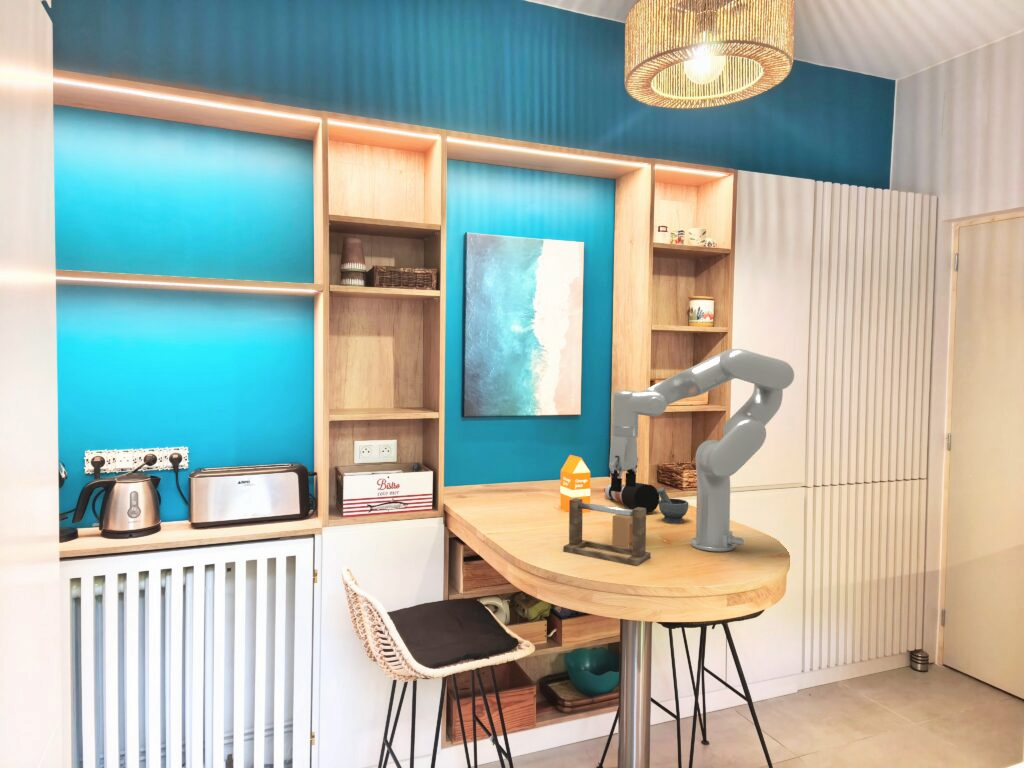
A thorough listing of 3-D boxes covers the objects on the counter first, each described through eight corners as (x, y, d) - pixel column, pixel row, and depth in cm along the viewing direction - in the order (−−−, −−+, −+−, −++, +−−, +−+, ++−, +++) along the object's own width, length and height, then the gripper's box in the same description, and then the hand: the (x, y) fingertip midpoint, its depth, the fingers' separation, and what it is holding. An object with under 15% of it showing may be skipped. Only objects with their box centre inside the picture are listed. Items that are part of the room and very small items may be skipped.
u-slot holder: (636, 543, 197) (636, 514, 197) (627, 548, 192) (628, 518, 192) (621, 541, 200) (621, 511, 200) (612, 545, 195) (612, 515, 195)
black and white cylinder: (611, 506, 266) (621, 483, 268) (653, 517, 234) (663, 491, 236) (590, 496, 264) (600, 473, 266) (629, 506, 231) (640, 479, 233)
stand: (650, 557, 184) (651, 506, 183) (637, 566, 176) (637, 512, 176) (578, 544, 197) (579, 496, 196) (563, 551, 189) (563, 501, 189)
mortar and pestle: (677, 517, 231) (678, 483, 230) (693, 523, 222) (694, 488, 221) (649, 519, 227) (650, 485, 226) (664, 526, 218) (665, 490, 218)
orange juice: (571, 513, 235) (572, 458, 234) (560, 508, 243) (560, 455, 242) (590, 511, 238) (591, 457, 237) (578, 506, 246) (578, 454, 245)
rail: (642, 517, 181) (642, 510, 181) (639, 518, 179) (640, 511, 179) (575, 506, 193) (575, 500, 193) (572, 507, 191) (572, 501, 191)
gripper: (626, 428, 204) (624, 483, 205) (600, 433, 190) (598, 491, 191) (648, 430, 200) (646, 486, 201) (624, 435, 186) (622, 495, 186)
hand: (623, 488), depth 196 cm, fingers open, 9 cm apart
